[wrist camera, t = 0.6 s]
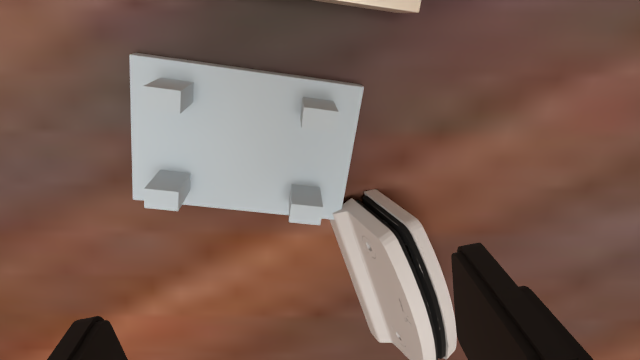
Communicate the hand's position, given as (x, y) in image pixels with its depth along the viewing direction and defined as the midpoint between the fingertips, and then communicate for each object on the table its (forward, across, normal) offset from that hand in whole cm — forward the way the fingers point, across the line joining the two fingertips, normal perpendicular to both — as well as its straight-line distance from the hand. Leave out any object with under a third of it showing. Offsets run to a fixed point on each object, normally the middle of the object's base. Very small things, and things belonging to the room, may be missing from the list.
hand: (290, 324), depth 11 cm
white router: (+26, -6, +16) cm, 31 cm away
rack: (+26, +4, +2) cm, 26 cm away
